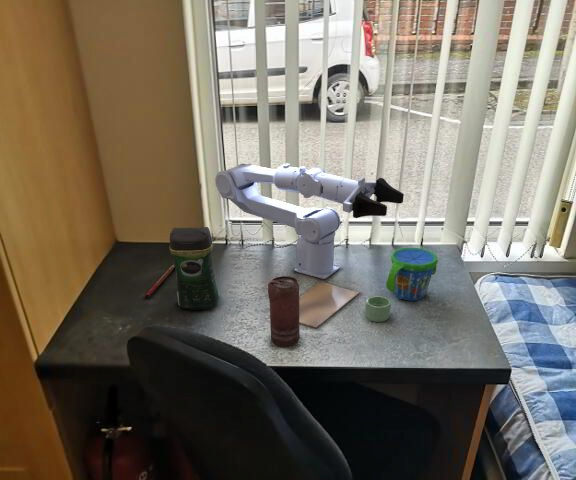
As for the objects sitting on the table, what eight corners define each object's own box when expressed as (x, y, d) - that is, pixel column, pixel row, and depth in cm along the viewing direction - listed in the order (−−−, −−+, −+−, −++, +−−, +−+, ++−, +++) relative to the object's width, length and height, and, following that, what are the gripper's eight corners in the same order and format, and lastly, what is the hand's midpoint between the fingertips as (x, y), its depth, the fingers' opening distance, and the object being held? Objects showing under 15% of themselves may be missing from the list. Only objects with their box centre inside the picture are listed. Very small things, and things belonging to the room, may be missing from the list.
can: (268, 334, 125) (266, 275, 117) (297, 332, 125) (297, 274, 117) (270, 349, 120) (268, 289, 112) (300, 347, 120) (300, 287, 112)
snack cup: (417, 279, 146) (422, 241, 140) (448, 294, 139) (455, 255, 133) (370, 295, 139) (373, 256, 133) (400, 312, 132) (405, 271, 126)
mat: (275, 315, 132) (275, 314, 131) (320, 283, 145) (320, 281, 145) (316, 328, 126) (316, 327, 126) (358, 293, 140) (359, 292, 140)
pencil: (149, 298, 139) (148, 294, 139) (144, 297, 140) (144, 294, 139) (177, 266, 154) (176, 262, 154) (173, 265, 154) (173, 262, 154)
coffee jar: (220, 295, 140) (213, 221, 129) (217, 311, 134) (209, 234, 123) (181, 296, 140) (170, 222, 129) (175, 311, 134) (164, 235, 123)
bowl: (360, 319, 130) (361, 303, 127) (371, 309, 133) (373, 293, 131) (382, 325, 127) (384, 309, 125) (393, 315, 131) (395, 299, 129)
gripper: (326, 185, 128) (379, 199, 121) (360, 163, 136) (411, 176, 130) (326, 214, 132) (377, 229, 126) (358, 192, 141) (408, 205, 135)
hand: (394, 204), depth 128 cm, fingers open, 7 cm apart
